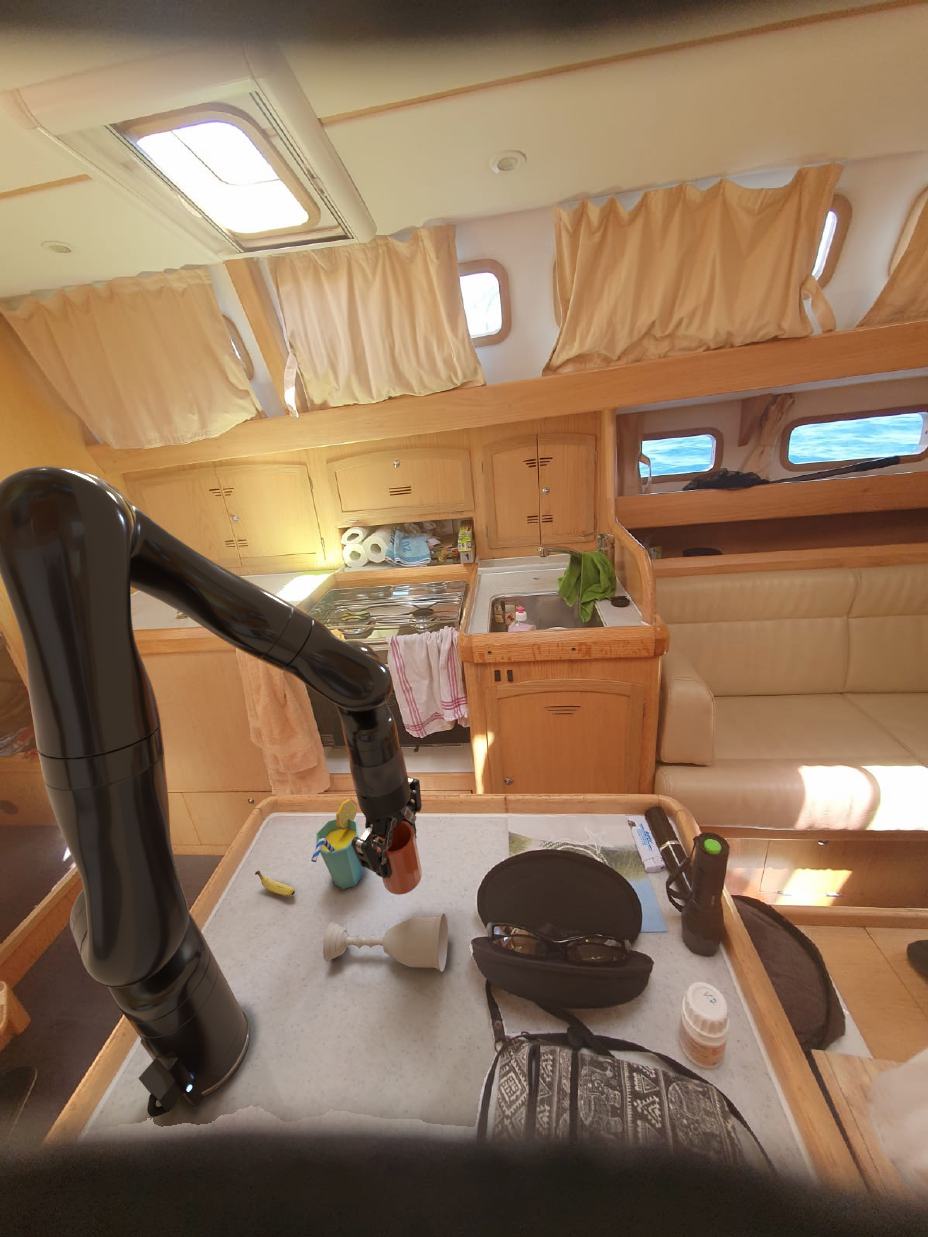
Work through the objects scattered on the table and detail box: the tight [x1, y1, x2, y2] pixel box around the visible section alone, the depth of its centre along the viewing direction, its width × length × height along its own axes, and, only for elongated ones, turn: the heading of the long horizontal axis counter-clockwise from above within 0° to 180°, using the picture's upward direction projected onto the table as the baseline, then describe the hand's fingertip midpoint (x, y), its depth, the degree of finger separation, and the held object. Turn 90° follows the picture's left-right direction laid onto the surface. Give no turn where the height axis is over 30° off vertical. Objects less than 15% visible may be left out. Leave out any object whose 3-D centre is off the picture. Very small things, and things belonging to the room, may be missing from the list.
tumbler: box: [377, 820, 423, 896], centre depth 70 cm, size 6×6×9 cm
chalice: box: [322, 912, 449, 973], centre depth 69 cm, size 7×7×18 cm
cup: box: [311, 798, 363, 890], centre depth 79 cm, size 14×8×15 cm, turn 173°
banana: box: [254, 870, 296, 897], centre depth 80 cm, size 8×2×4 cm, turn 69°
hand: (398, 856), depth 70 cm, fingers closed on tumbler, 6 cm apart
